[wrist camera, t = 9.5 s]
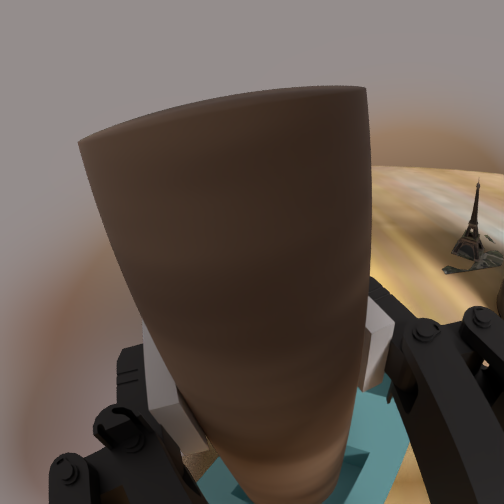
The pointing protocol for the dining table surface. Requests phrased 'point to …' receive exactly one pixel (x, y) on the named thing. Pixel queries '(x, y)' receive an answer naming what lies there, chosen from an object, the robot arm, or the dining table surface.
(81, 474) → the robot arm
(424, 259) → the dining table surface
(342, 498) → the bore block
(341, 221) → the walnut pin
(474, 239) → the eiffel tower figurine
